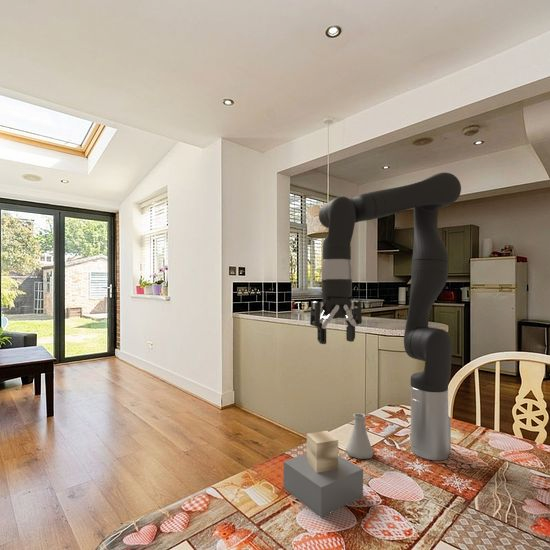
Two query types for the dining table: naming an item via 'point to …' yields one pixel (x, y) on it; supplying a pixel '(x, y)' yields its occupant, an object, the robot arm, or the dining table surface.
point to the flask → (359, 439)
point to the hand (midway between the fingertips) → (336, 342)
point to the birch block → (322, 451)
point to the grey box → (323, 484)
